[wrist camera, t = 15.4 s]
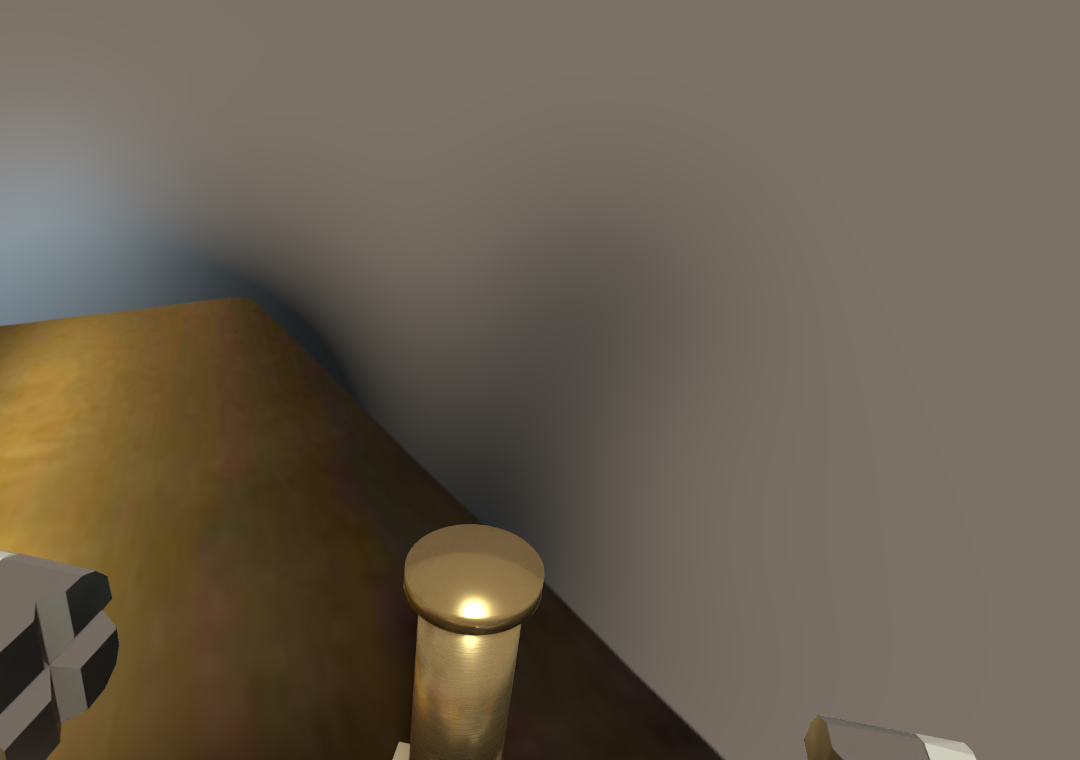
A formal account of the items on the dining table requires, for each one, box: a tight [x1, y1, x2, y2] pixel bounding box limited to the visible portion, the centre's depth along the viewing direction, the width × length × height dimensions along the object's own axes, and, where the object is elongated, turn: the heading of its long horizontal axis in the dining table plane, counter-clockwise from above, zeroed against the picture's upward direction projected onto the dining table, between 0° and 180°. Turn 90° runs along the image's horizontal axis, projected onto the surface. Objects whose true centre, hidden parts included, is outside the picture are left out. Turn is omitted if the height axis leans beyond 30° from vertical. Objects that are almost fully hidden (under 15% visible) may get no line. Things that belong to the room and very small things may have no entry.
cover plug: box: [404, 524, 544, 760], centre depth 37 cm, size 6×6×17 cm
